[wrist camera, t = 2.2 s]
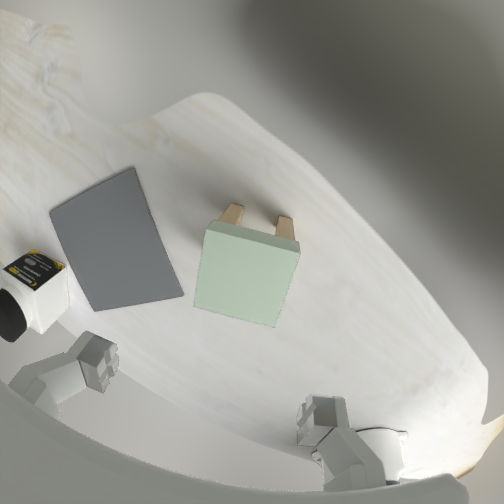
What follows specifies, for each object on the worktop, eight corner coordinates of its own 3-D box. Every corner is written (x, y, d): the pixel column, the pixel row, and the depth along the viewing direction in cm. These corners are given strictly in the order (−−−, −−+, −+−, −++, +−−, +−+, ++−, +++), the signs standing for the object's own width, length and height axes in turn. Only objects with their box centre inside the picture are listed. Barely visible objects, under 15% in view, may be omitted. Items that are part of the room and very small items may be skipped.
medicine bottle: (67, 265, 29) (5, 315, 18) (70, 307, 32) (20, 359, 21) (34, 247, 29) (-26, 287, 18) (38, 288, 32) (-12, 331, 21)
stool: (295, 217, 24) (300, 253, 17) (277, 275, 27) (274, 327, 19) (229, 200, 24) (205, 228, 17) (217, 260, 27) (193, 306, 19)
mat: (184, 294, 29) (183, 296, 28) (95, 310, 32) (94, 311, 31) (134, 167, 24) (132, 168, 23) (50, 212, 27) (48, 213, 26)
